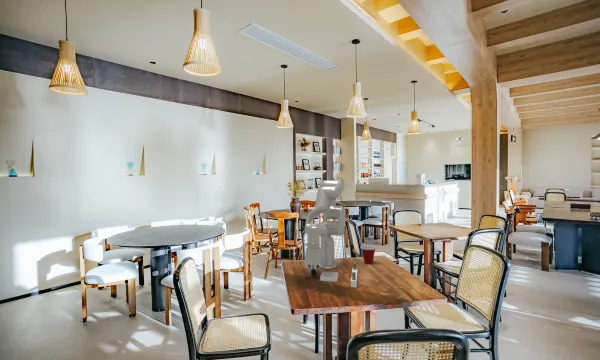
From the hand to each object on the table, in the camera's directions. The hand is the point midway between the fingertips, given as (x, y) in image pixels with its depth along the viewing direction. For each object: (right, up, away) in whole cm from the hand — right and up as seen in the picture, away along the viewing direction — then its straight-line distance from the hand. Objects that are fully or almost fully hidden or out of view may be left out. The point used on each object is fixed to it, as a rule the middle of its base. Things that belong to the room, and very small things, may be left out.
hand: (313, 275), depth 197 cm
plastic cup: (+41, -1, +33) cm, 52 cm away
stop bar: (+24, -1, -5) cm, 25 cm away
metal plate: (+9, -2, -2) cm, 10 cm away
